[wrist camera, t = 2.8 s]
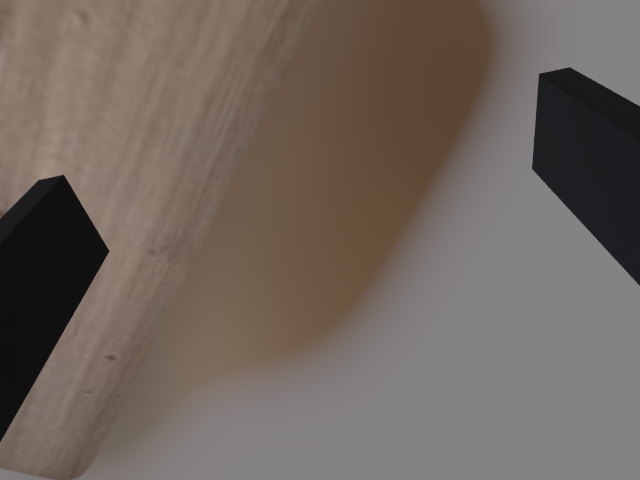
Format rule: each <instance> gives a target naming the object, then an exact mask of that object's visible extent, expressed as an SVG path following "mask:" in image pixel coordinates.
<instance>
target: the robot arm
mask: <svg viewBox="0 0 640 480" xmlns="http://www.w3.org/2000/svg"><path fill="white" fill-rule="evenodd" d="M532 169H533V170H534V171H535V172H536V173H537V175H538V176H539V177H540V178H541V179H542V180H543V181H544V182H545V183H546V184H547V186H548V187H549V188H550V189H551V190H552V191H553V192H554V193H555V194H556V195H557V196H558V198H559V199H560V200H561V201H562V202H563V203H564V204H565V205H566V206H567V207H568V208H569V209H570V211H571V212H572V213H573V214H574V215H575V216H576V217H577V218H578V219H579V220H580V221H581V222H582V224H583V225H584V226H585V227H586V228H587V229H588V230H589V231H590V232H591V233H592V234H593V235H594V237H595V238H597V240H598V241H599V242H600V243H601V244H602V245H603V246H604V247H605V249H606V250H607V251H608V252H609V253H610V254H611V255H612V256H613V257H614V258H615V259H616V260H617V261H618V263H619V264H620V265H621V266H622V267H623V268H624V269H625V270H626V271H627V272H628V273H629V275H631V277H632V278H633V279H634V280H635V281H636V282H637V283H638V284H639V285H640V106H638V105H636V104H634V103H633V102H631V101H629V100H627V99H626V98H624V97H622V96H620V95H618V94H617V93H615V92H613V91H611V90H609V89H608V88H606V87H604V86H602V85H600V84H599V83H597V82H595V81H593V80H592V79H590V78H588V77H586V76H584V75H583V74H581V73H579V72H577V71H575V70H574V69H572V68H565V69H560V70H555V71H551V72H546V73H541V74H539V84H538V96H537V110H536V125H535V137H534V151H533V165H532ZM108 253H109V250H108V248H107V246H106V245H105V243H104V241H103V240H102V238H101V236H100V235H99V233H98V231H97V230H96V228H95V226H94V225H93V223H92V221H91V220H90V218H89V216H88V215H87V213H86V211H85V210H84V208H83V206H82V205H81V203H80V201H79V200H78V198H77V196H76V195H75V193H74V191H73V189H72V188H71V186H70V184H69V183H68V181H67V179H66V178H65V176H64V175H61V176H56V177H52V178H47V179H42V180H38V181H37V182H36V183H35V184H34V185H33V186H32V187H31V188H30V189H29V191H28V192H27V193H26V194H25V195H24V196H23V197H22V198H21V199H20V200H19V201H18V202H17V203H16V204H15V205H14V206H13V207H12V208H11V209H10V210H9V211H8V212H7V213H6V214H5V215H4V216H3V217H2V218H1V219H0V442H1V440H2V438H3V437H4V435H5V433H6V431H7V430H8V428H9V426H10V424H11V423H12V421H13V419H14V417H15V416H16V414H17V412H18V410H19V409H20V407H21V405H22V403H23V402H24V400H25V398H26V396H27V395H28V393H29V391H30V389H31V388H32V386H33V384H34V382H35V381H36V379H37V377H38V375H39V374H40V372H41V370H42V368H43V367H44V365H45V363H46V361H47V360H48V358H49V356H50V354H51V353H52V351H53V349H54V347H55V346H56V344H57V342H58V340H59V339H60V337H61V335H62V333H63V332H64V330H65V328H66V326H67V325H68V323H69V321H70V319H71V318H72V316H73V314H74V312H75V311H76V309H77V307H78V305H79V304H80V302H81V300H82V298H83V297H84V295H85V293H86V291H87V290H88V288H89V286H90V284H91V283H92V281H93V279H94V277H95V276H96V274H97V272H98V270H99V269H100V267H101V265H102V263H103V262H104V260H105V258H106V256H107V255H108Z"/></svg>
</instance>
